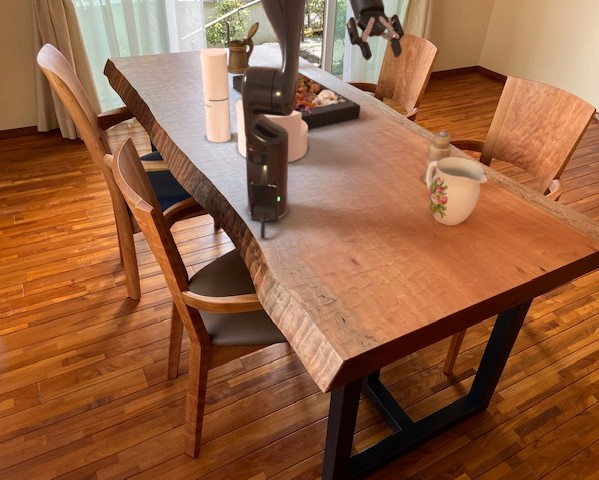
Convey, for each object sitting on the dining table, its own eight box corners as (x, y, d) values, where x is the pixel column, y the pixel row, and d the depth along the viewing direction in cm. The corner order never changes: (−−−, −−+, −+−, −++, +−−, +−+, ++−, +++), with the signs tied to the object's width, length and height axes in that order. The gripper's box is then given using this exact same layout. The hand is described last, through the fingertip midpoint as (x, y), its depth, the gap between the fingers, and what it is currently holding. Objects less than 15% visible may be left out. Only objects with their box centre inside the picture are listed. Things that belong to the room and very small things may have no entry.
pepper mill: (445, 186, 130) (456, 136, 121) (423, 184, 130) (433, 134, 122) (442, 176, 134) (453, 127, 126) (421, 174, 134) (431, 125, 126)
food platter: (359, 118, 165) (362, 87, 159) (296, 132, 154) (296, 100, 148) (289, 78, 196) (290, 51, 189) (233, 88, 185) (231, 59, 179)
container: (320, 146, 146) (323, 102, 138) (277, 170, 133) (277, 123, 125) (269, 128, 156) (268, 86, 148) (223, 149, 143) (221, 104, 135)
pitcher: (440, 193, 127) (452, 143, 119) (489, 230, 113) (505, 177, 105) (404, 201, 123) (413, 150, 115) (450, 240, 110) (464, 186, 102)
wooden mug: (263, 71, 202) (262, 24, 191) (230, 74, 197) (228, 26, 187) (256, 65, 208) (255, 19, 198) (224, 67, 204) (222, 21, 193)
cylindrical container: (226, 143, 146) (221, 56, 131) (203, 140, 147) (196, 54, 132) (234, 134, 152) (230, 49, 137) (211, 131, 153) (205, 47, 138)
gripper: (346, -12, 117) (366, 51, 116) (396, -14, 123) (415, 46, 121) (333, 8, 124) (352, 67, 123) (381, 5, 129) (400, 62, 128)
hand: (383, 56), depth 122 cm, fingers open, 8 cm apart
